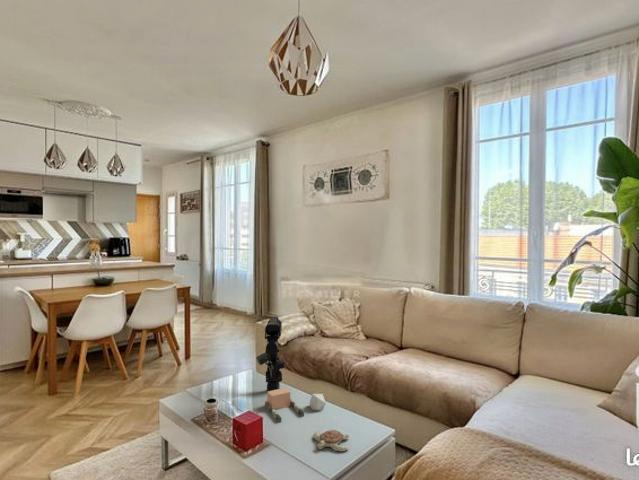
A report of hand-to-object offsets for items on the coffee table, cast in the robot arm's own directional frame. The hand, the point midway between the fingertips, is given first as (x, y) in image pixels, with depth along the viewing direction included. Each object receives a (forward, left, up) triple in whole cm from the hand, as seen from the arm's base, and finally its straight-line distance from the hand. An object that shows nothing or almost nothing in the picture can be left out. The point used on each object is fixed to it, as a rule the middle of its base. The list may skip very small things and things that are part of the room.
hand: (272, 377), depth 195 cm
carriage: (+3, +8, -12) cm, 14 cm away
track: (+5, +14, -13) cm, 20 cm away
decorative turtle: (+8, +48, -14) cm, 50 cm away
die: (-9, +24, -13) cm, 29 cm away
